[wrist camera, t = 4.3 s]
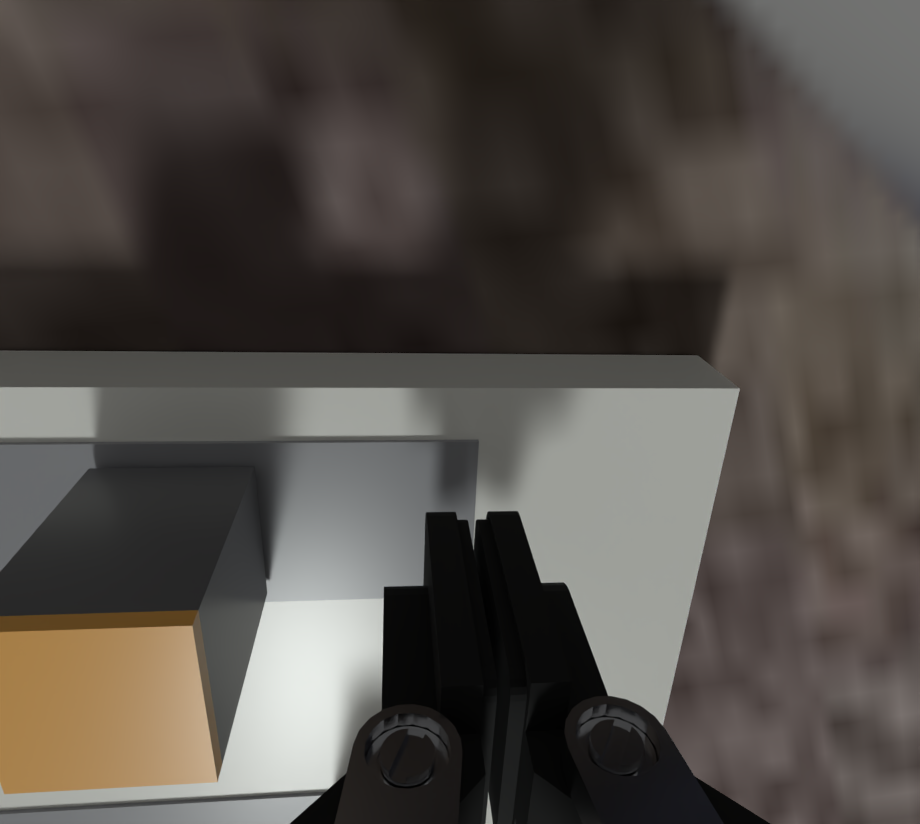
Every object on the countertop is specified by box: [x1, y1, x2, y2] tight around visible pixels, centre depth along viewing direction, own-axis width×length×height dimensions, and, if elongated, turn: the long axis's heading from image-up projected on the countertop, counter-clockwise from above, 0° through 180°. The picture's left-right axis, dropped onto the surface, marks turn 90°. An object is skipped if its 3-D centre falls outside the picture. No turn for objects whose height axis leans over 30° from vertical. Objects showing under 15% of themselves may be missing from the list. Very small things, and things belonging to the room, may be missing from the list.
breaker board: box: [0, 350, 740, 824], centre depth 16 cm, size 22×16×2 cm
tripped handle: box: [0, 467, 267, 794], centre depth 11 cm, size 3×3×4 cm
